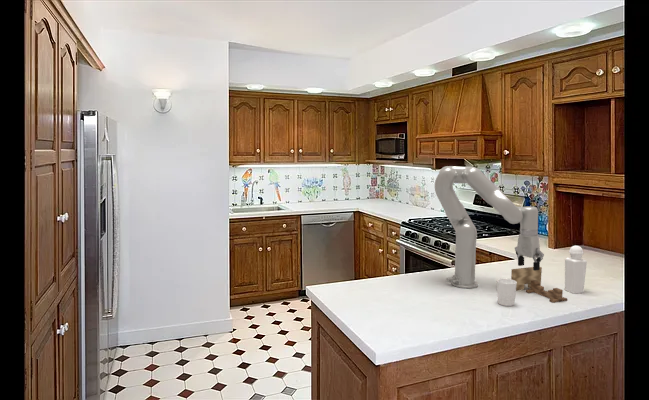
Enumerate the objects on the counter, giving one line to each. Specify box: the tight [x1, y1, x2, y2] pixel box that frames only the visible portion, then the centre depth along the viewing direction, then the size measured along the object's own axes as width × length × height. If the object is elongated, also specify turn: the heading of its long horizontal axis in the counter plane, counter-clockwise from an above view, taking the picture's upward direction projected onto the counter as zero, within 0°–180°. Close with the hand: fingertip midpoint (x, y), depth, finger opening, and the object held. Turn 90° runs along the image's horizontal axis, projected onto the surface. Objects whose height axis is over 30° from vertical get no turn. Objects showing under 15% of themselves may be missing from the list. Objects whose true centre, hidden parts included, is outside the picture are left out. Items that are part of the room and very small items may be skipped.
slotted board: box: [510, 266, 543, 292], centre depth 211 cm, size 16×2×10 cm, turn 109°
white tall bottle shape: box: [564, 245, 588, 294], centre depth 206 cm, size 6×6×22 cm
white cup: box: [496, 278, 517, 307], centre depth 190 cm, size 8×8×10 cm
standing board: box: [525, 280, 568, 304], centre depth 200 cm, size 16×8×5 cm, turn 19°
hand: (528, 267), depth 210 cm, fingers open, 9 cm apart
